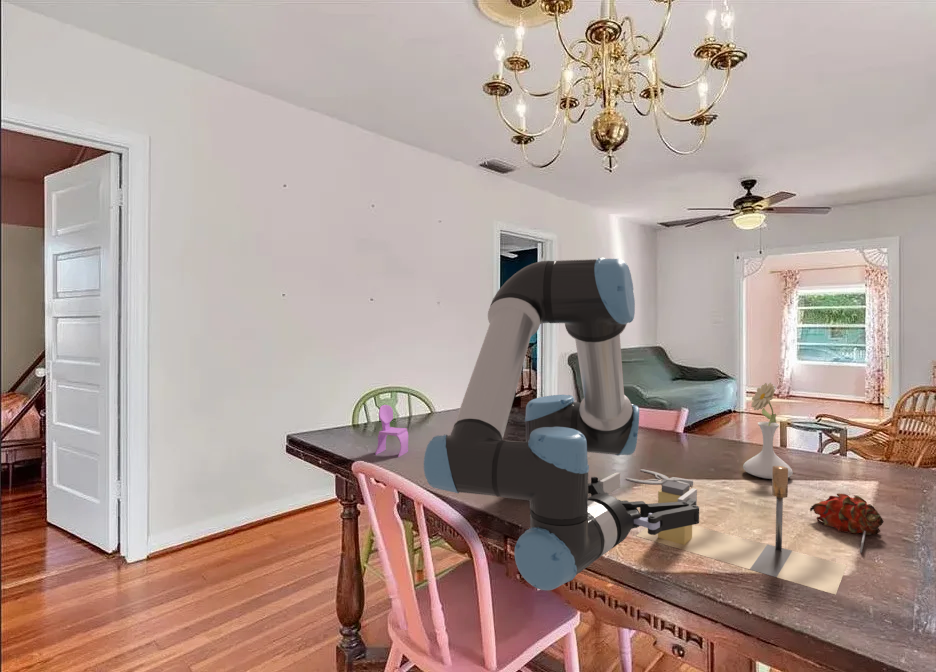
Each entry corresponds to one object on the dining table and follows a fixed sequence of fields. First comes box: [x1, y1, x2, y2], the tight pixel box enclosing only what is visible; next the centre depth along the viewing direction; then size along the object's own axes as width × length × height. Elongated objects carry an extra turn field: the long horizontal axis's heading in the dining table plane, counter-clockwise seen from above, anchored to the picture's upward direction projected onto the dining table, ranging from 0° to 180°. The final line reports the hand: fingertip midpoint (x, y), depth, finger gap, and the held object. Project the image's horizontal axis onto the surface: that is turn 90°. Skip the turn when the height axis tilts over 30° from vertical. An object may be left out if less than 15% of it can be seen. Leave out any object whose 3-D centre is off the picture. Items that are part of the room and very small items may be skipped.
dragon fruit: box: [809, 492, 884, 536], centre depth 105 cm, size 8×8×12 cm
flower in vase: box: [742, 382, 794, 480], centre depth 138 cm, size 13×11×25 cm
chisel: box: [771, 466, 789, 551], centre depth 96 cm, size 2×2×15 cm
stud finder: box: [657, 481, 692, 545], centre depth 102 cm, size 5×4×10 cm
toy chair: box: [374, 404, 409, 458], centre depth 166 cm, size 8×9×15 cm
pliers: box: [625, 468, 694, 490], centre depth 137 cm, size 10×2×15 cm
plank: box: [635, 524, 847, 596], centre depth 97 cm, size 32×12×1 cm, turn 48°
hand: (654, 487), depth 93 cm, fingers open, 13 cm apart
